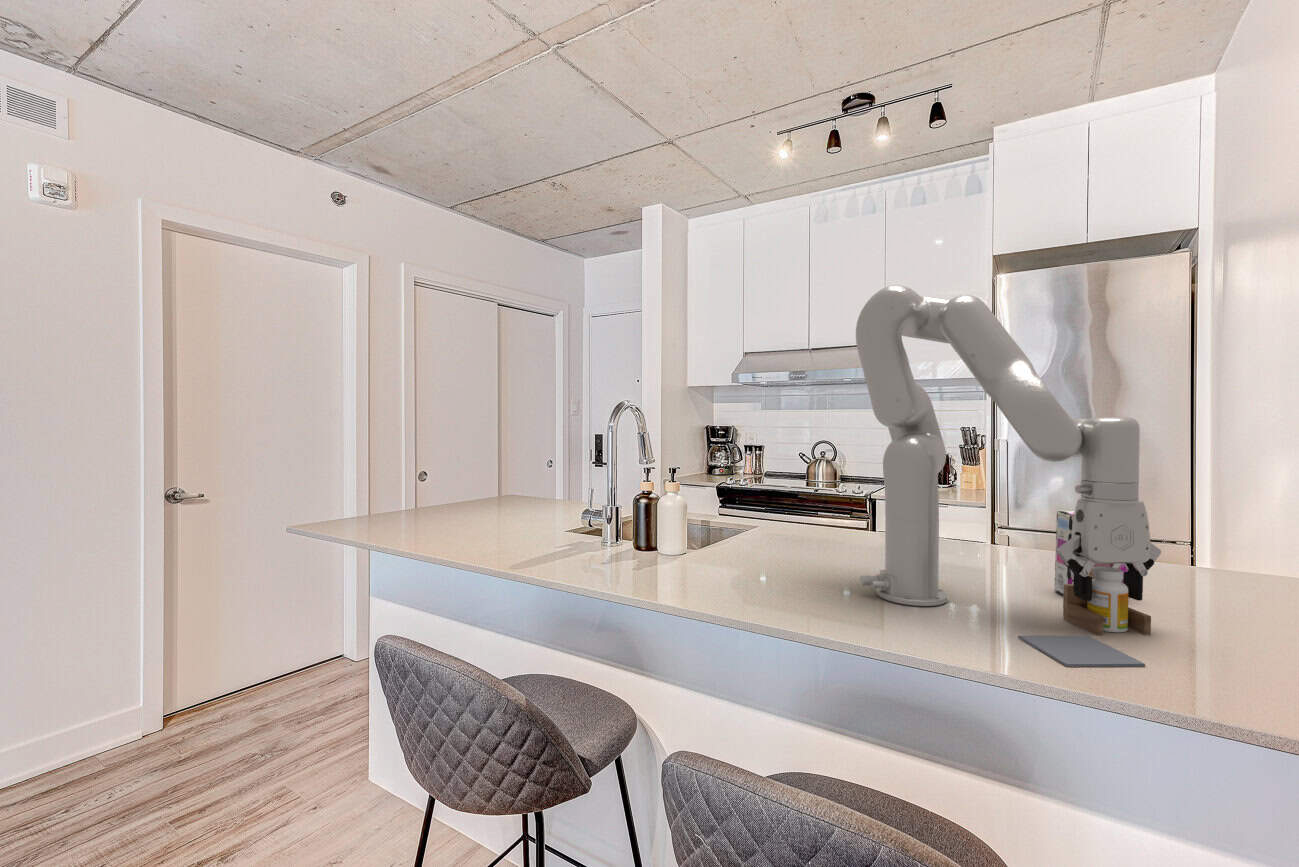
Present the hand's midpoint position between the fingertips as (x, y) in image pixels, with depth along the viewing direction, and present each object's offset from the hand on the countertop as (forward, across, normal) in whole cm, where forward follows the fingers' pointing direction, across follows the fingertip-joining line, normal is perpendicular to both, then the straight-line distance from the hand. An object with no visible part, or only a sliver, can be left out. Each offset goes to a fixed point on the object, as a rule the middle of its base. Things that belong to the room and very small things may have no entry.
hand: (1107, 597), depth 99 cm
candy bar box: (+5, +10, +17) cm, 20 cm away
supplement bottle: (+5, 0, 0) cm, 5 cm away
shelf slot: (+5, 0, 0) cm, 5 cm away
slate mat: (+5, -12, -10) cm, 16 cm away
